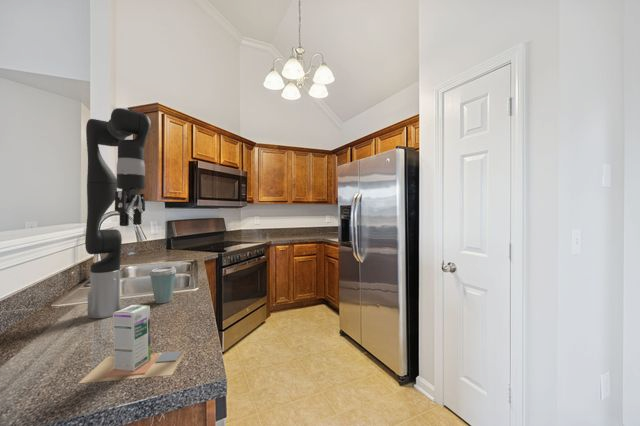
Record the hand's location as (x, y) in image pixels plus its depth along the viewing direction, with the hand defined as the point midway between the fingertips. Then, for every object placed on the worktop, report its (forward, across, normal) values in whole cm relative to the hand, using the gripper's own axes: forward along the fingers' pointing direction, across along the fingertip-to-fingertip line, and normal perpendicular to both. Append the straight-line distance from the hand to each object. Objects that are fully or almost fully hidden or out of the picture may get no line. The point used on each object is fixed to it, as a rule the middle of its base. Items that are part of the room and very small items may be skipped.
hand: (131, 225), depth 89 cm
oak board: (+36, +19, +10) cm, 42 cm away
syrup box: (+35, +19, +9) cm, 41 cm away
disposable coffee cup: (+36, -39, -4) cm, 53 cm away
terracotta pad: (+35, +19, +9) cm, 41 cm away
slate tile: (+35, +16, +16) cm, 42 cm away
